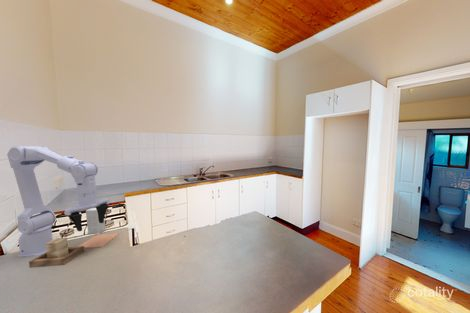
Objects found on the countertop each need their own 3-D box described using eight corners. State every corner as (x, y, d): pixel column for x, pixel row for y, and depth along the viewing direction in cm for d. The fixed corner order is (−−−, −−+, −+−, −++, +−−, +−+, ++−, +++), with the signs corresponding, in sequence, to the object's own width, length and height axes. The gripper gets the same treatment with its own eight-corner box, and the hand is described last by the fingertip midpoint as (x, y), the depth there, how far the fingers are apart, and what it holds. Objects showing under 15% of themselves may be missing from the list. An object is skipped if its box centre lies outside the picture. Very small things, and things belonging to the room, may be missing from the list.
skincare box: (106, 230, 93) (103, 207, 92) (99, 234, 89) (96, 210, 88) (95, 230, 93) (92, 207, 93) (87, 234, 89) (85, 210, 89)
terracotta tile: (75, 250, 74) (75, 248, 74) (95, 236, 85) (95, 235, 85) (102, 248, 75) (101, 246, 74) (119, 235, 86) (118, 233, 85)
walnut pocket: (29, 268, 64) (28, 261, 64) (53, 254, 72) (52, 248, 72) (65, 265, 64) (64, 259, 64) (84, 252, 72) (83, 246, 72)
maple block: (47, 262, 66) (45, 243, 66) (58, 255, 70) (56, 238, 70) (58, 261, 66) (56, 242, 66) (68, 255, 70) (66, 237, 70)
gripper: (69, 199, 64) (74, 236, 65) (112, 189, 77) (115, 220, 78) (60, 197, 67) (64, 233, 68) (102, 188, 80) (105, 218, 81)
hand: (91, 226), depth 73 cm, fingers open, 7 cm apart
